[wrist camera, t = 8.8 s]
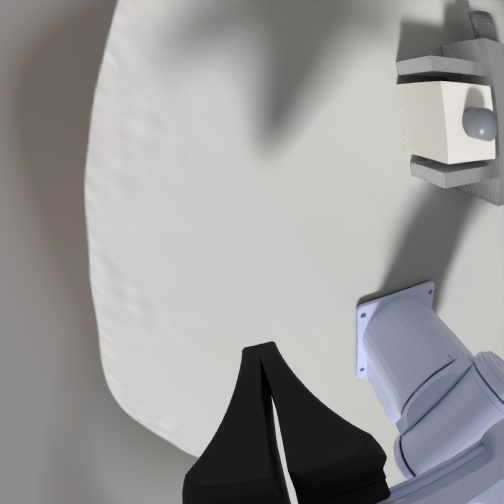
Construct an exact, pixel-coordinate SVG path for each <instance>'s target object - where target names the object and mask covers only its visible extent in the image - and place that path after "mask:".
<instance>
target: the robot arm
mask: <svg viewBox="0 0 504 504" xmlns="http://www.w3.org/2000/svg"><path fill="white" fill-rule="evenodd" d="M434 289H435V284H434V282H433V281H428V282H425V283H422V284H420V285H417V286H414V287H411V288H408V289H405V290H402V291H400V292H397V293H394V294H391V295H388V296H385V297H382V298H378V299H375V300H372V301H369V302H366V303H363V304H360V305H359V306H358V307H357V357H356V376H357V378H358V379H362V378H365V377H367V378H368V380H369V382H370V384H371V386H372V388H373V390H374V391H375V393H376V395H377V397H378V399H379V401H380V403H381V405H382V407H383V409H384V411H385V413H386V415H387V417H388V418H389V419H390V420H391V421H392V422H393V423H394V424H396V426H397V428H398V430H399V432H400V434H399V435H398V436H397V438H396V439H395V442H394V458H395V463H396V466H397V468H398V470H399V472H400V474H401V475H402V477H403V478H404V479H405V480H406V481H404V482H402V483H400V484H397V485H395V486H393V487H390V488H388V485H387V483H386V480H385V479H386V475H385V473H384V471H383V467H384V465H385V462H386V460H387V456H386V454H385V452H384V450H383V449H382V447H381V446H380V444H379V443H378V442H377V441H376V440H375V439H374V437H373V436H372V435H371V434H369V433H367V432H365V431H363V430H361V429H359V428H358V427H356V426H354V425H352V424H351V423H349V422H348V421H346V420H345V419H343V418H342V417H340V416H339V415H338V414H336V413H335V412H333V411H332V410H331V409H329V408H328V407H327V406H326V405H324V404H323V403H322V402H321V401H320V400H319V399H318V398H316V397H315V396H314V395H313V394H312V393H311V392H310V391H309V390H308V389H307V388H306V387H305V386H304V385H303V383H302V382H301V381H300V380H299V379H298V378H297V377H296V375H295V374H294V373H293V372H292V370H291V369H290V368H289V366H288V365H287V363H286V362H285V361H284V359H283V357H282V356H281V354H280V352H279V350H278V348H277V346H276V344H275V342H273V341H271V342H267V343H263V344H259V345H254V346H250V347H246V348H244V349H243V350H242V360H241V366H240V371H239V375H238V379H237V383H236V386H235V390H234V392H233V395H232V398H231V401H230V404H229V406H228V409H227V411H226V414H225V416H224V418H223V420H222V422H221V424H220V426H219V428H218V430H217V432H216V433H215V435H214V437H213V439H212V440H211V442H210V443H209V445H208V446H207V448H206V449H205V451H204V452H203V454H202V455H201V456H200V458H199V459H198V460H197V462H196V463H195V464H194V465H193V466H192V468H191V469H190V470H189V471H188V472H187V474H186V475H185V479H184V484H183V492H182V498H183V499H182V500H183V504H291V502H290V498H289V494H288V490H287V486H286V481H285V477H284V473H283V468H282V464H281V460H280V455H279V450H278V446H277V440H276V433H275V424H274V414H273V405H272V398H273V401H274V404H275V407H276V411H277V416H278V421H279V426H280V431H281V436H282V441H283V446H284V452H285V457H286V463H287V468H288V472H289V475H290V478H291V480H292V483H293V486H294V488H295V492H296V496H297V500H298V504H504V360H502V359H501V358H500V357H499V356H497V355H496V354H494V353H493V352H491V351H488V352H479V353H478V354H477V355H476V357H474V356H473V355H472V353H471V352H470V351H469V350H468V349H467V348H466V346H465V345H464V344H463V343H462V342H461V341H460V340H459V339H458V337H457V336H456V335H455V334H454V333H453V332H452V331H451V330H450V329H449V327H448V326H447V325H446V324H445V323H444V322H443V321H442V320H441V319H440V318H439V317H438V316H437V314H436V313H435V312H434V311H433V310H432V303H433V296H434ZM429 290H430V291H429ZM363 313H364V314H363ZM362 314H363V315H362ZM271 395H272V396H271Z"/></svg>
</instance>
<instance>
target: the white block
mask: <svg viewBox="0 0 504 504" xmlns="http://www.w3.org/2000/svg"><path fill="white" fill-rule="evenodd" d="M396 86H397V92H398V98H399V104H400V111H401V119H402V127H403V136H404V145H405V152H407V153H411V154H414V155H418V156H422V157H425V158H429V159H432V160H436V161H439V162H442V163H446V164H454V163H462V162H470V161H478V160H487V159H495V137H496V134H497V129H498V125H497V119H496V116H495V114H494V113H493V106H492V98H491V90H490V86H484V85H476V84H467V83H457V82H446V81H433V82H419V83H407V84H397V85H396Z"/></svg>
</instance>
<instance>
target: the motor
mask: <svg viewBox="0 0 504 504" xmlns="http://www.w3.org/2000/svg"><path fill="white" fill-rule="evenodd" d="M468 14H469V17H470V21H471V24H472V28H473V32H474V35H475V39H473V40H466V41H460V42H454V43H448V44H443V45H441V48H442V53H443V57H440V56H431V55H429V56H424V57H419V58H413V59H408V60H404V61H399V62H396V64H397V69H398V74H399V75H414V76H437V77H448V82H457V83H467V84H476V85H484V86H490V90H491V98H492V106H493V113H494V114H495V116H496V119H497V125H498V129H497V134H496V137H495V159H487V160H478V161H470V162H462V163H454V164H446V163H442V162H439V161H436V160H432V159H429V160H423V161H416V162H411V175H412V176H414V177H417V178H420V179H422V180H425V181H427V182H430V183H432V184H435V185H437V186H440V187H442V188H444V189H445V188H450V187H455V186H457V188H458V189H460V190H463V191H465V192H467V193H470V194H472V195H474V196H477V197H479V198H481V199H483V200H486V201H488V202H490V203H492V204H494V205H496V206H501V205H504V44H502V43H499V42H498V41H497V37H496V33H495V30H494V26H493V22H492V19H491V16H490V14H489V13H487V12H483V11H473V12H469V13H468Z"/></svg>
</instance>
